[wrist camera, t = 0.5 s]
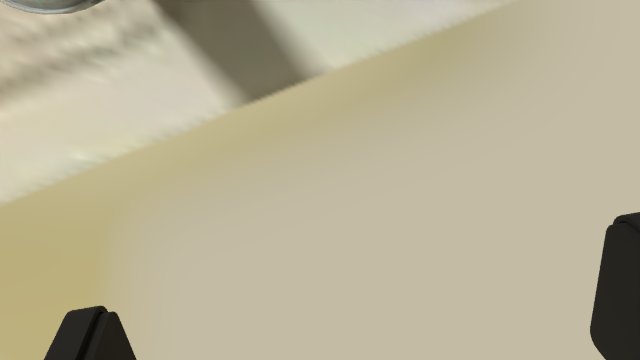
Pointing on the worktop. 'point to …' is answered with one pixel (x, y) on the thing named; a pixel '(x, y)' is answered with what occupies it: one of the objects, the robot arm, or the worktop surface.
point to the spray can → (51, 5)
